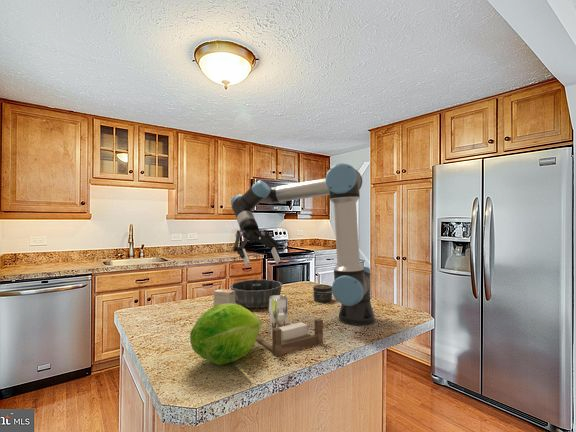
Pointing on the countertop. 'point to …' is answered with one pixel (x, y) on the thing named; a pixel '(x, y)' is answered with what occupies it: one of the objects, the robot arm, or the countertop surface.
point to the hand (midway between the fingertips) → (263, 262)
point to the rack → (295, 344)
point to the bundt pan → (255, 292)
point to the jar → (322, 293)
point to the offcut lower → (295, 337)
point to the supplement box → (224, 297)
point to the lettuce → (225, 333)
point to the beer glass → (277, 311)
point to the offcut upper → (293, 330)
